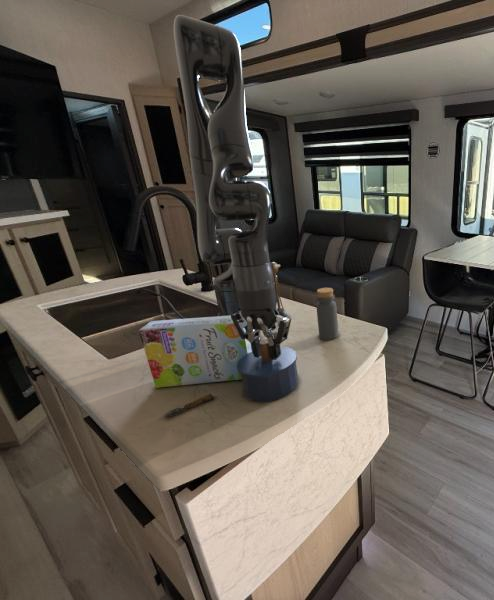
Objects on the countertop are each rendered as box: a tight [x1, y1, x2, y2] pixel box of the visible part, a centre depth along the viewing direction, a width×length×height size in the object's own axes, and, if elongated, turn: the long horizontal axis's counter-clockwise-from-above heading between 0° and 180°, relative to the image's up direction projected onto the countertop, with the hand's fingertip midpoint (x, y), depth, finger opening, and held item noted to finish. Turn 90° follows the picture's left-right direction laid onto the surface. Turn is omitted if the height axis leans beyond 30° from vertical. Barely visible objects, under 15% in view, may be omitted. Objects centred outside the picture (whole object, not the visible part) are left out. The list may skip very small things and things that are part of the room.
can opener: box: [163, 393, 214, 418], centre depth 66 cm, size 9×2×1 cm, turn 130°
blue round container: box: [241, 361, 299, 403], centre depth 73 cm, size 12×12×6 cm
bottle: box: [315, 287, 339, 341], centre depth 96 cm, size 6×6×15 cm
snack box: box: [138, 315, 252, 389], centre depth 75 cm, size 21×6×15 cm, turn 100°
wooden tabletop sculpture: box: [270, 261, 288, 318], centre depth 109 cm, size 6×5×20 cm
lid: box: [237, 338, 298, 378], centre depth 71 cm, size 13×13×6 cm
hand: (267, 356), depth 71 cm, fingers open, 3 cm apart
